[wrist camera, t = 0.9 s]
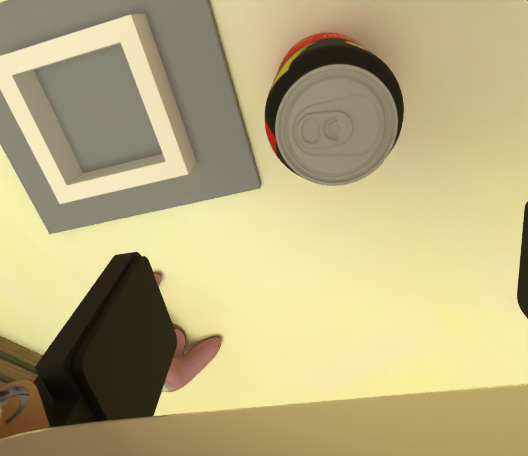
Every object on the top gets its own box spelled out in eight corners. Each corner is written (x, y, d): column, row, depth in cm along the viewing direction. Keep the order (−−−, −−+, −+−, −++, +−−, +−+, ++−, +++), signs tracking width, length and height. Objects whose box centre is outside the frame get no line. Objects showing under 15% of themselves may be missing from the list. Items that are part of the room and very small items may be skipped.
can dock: (191, -61, 25) (176, -69, 23) (261, 184, 32) (257, 201, 29) (-56, 25, 29) (-96, 27, 26) (54, 229, 36) (32, 249, 33)
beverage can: (373, 124, 30) (411, 191, 19) (283, 135, 30) (271, 204, 20) (370, 24, 27) (414, 36, 16) (271, 39, 28) (250, 60, 17)
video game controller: (132, 275, 39) (78, 335, 35) (158, 266, 36) (101, 332, 32) (200, 345, 42) (159, 408, 38) (229, 342, 39) (187, 412, 35)
